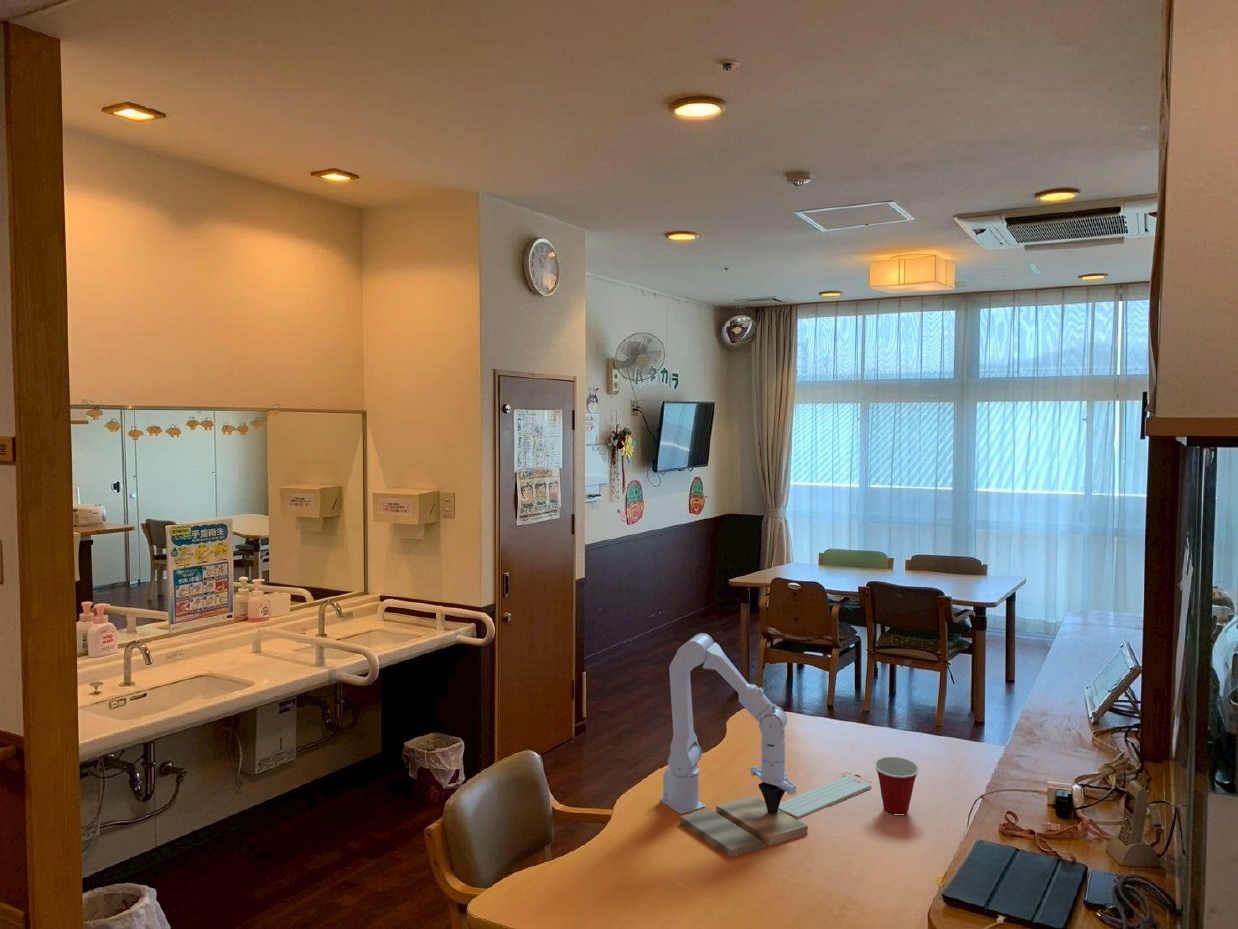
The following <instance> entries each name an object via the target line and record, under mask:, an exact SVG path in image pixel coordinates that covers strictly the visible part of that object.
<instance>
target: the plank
mask: <svg viewBox="0 0 1238 929" xmlns="http://www.w3.org/2000/svg"><path fill="white" fill-rule="evenodd" d="M715 812H716V813H718V814H719V815H721V816H723V817H724V818H726V819H727V820H729V821H731V822H732V823H734V824H736V825H737V826H739V827H740V828H742V829H744V830H745V831H747V832H748V833H750V834H752V835H753V836H755V837H756V838H758V839H760V840H761V841H762V843H764V844H765V845H767V846H768V845H770V846H774V845H776V844H779V843H784V842H786V841H790V840H792V839H795V838H799V837H802V836H805V835H807V834H808V827H809V826H808V825H807V824H805V823H804V822H802V821H800V820H798V819H797V818H794V817H792V816H790V815H788V814H786V813H784V812H782V811H780V810H779V809H778V812H777V813H774V814H770V813H768V811H767V807H766V803H765V800H762V799H761V798H759V797H757V796H756V795H750V796H746V797H742V798H738V799H734V800H731V801H728V802H727V801H726V802H724V803H720V804H716V806H715ZM804 834H805V835H804Z"/></svg>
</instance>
